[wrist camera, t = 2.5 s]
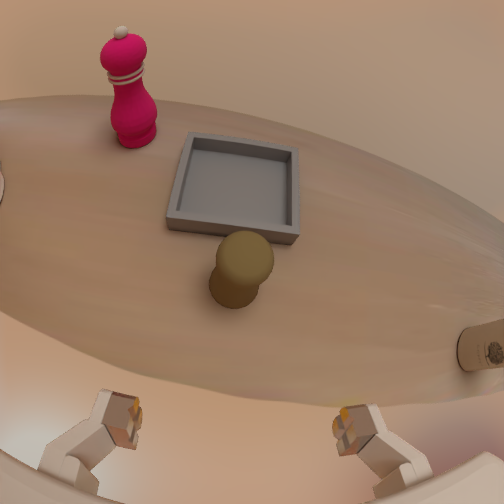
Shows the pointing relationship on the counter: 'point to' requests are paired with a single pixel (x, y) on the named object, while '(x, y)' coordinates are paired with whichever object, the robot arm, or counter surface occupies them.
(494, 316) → the counter surface
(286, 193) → the tray
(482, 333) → the travel mug
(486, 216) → the counter surface
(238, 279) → the brown pawn
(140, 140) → the pepper mill
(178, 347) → the counter surface
